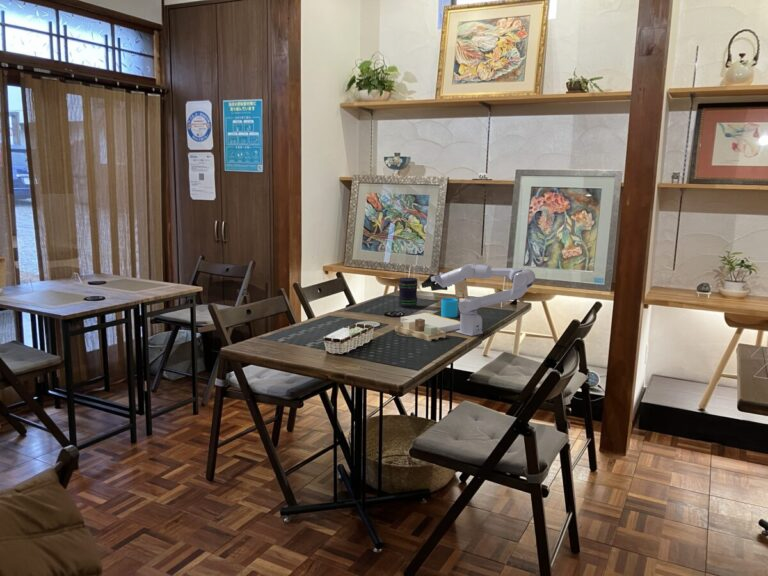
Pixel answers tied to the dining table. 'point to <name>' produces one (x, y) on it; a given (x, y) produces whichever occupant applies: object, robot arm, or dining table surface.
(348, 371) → the dining table surface
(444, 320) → the dock
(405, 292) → the storage jar
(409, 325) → the off-white square block
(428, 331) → the pale green block
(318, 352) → the dining table surface
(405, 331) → the tan open box
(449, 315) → the mug
